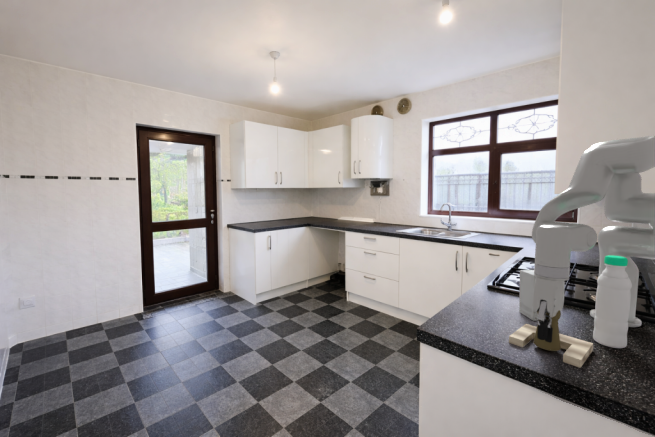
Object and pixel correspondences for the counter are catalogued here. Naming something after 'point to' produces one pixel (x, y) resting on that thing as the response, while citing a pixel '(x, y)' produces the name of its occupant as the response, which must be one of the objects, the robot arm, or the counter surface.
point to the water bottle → (612, 303)
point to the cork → (555, 336)
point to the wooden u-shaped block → (574, 347)
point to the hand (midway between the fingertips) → (547, 337)
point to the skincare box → (527, 294)
